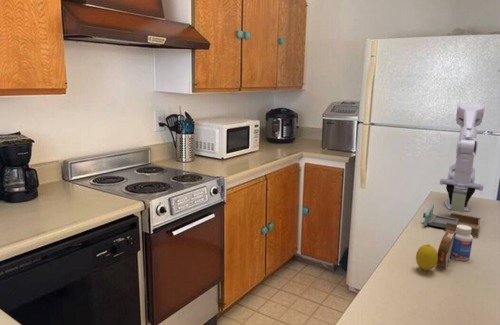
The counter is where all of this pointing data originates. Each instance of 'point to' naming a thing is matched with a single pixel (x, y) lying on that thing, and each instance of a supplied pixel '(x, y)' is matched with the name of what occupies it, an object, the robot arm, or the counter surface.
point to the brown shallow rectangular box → (465, 223)
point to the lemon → (426, 257)
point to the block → (458, 201)
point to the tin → (445, 248)
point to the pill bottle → (462, 243)
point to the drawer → (437, 219)
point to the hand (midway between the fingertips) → (458, 205)
